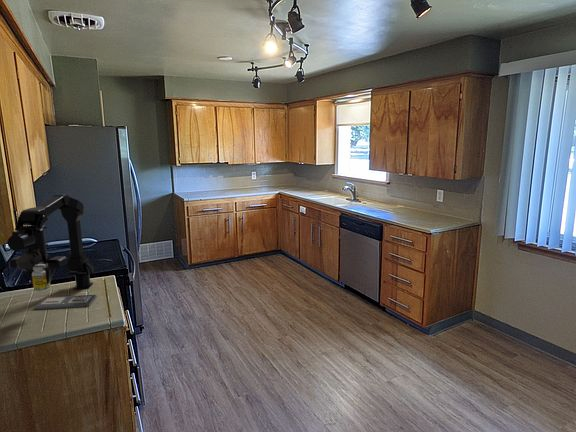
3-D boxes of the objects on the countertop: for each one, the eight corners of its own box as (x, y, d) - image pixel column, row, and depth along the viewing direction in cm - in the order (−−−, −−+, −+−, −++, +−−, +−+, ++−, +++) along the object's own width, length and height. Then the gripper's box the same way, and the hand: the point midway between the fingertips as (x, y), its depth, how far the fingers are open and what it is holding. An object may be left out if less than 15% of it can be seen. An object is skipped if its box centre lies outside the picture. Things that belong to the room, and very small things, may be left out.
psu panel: (45, 300, 158) (45, 296, 157) (96, 297, 160) (96, 294, 160) (34, 309, 149) (34, 306, 149) (88, 306, 152) (88, 303, 151)
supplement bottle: (50, 285, 147) (47, 262, 145) (51, 290, 143) (48, 266, 141) (33, 288, 144) (30, 264, 142) (33, 293, 140) (30, 268, 138)
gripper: (-6, 249, 132) (0, 291, 135) (46, 250, 132) (52, 292, 135) (17, 240, 143) (23, 280, 146) (66, 241, 142) (70, 280, 146)
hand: (41, 283), depth 143 cm, fingers closed on supplement bottle, 5 cm apart
